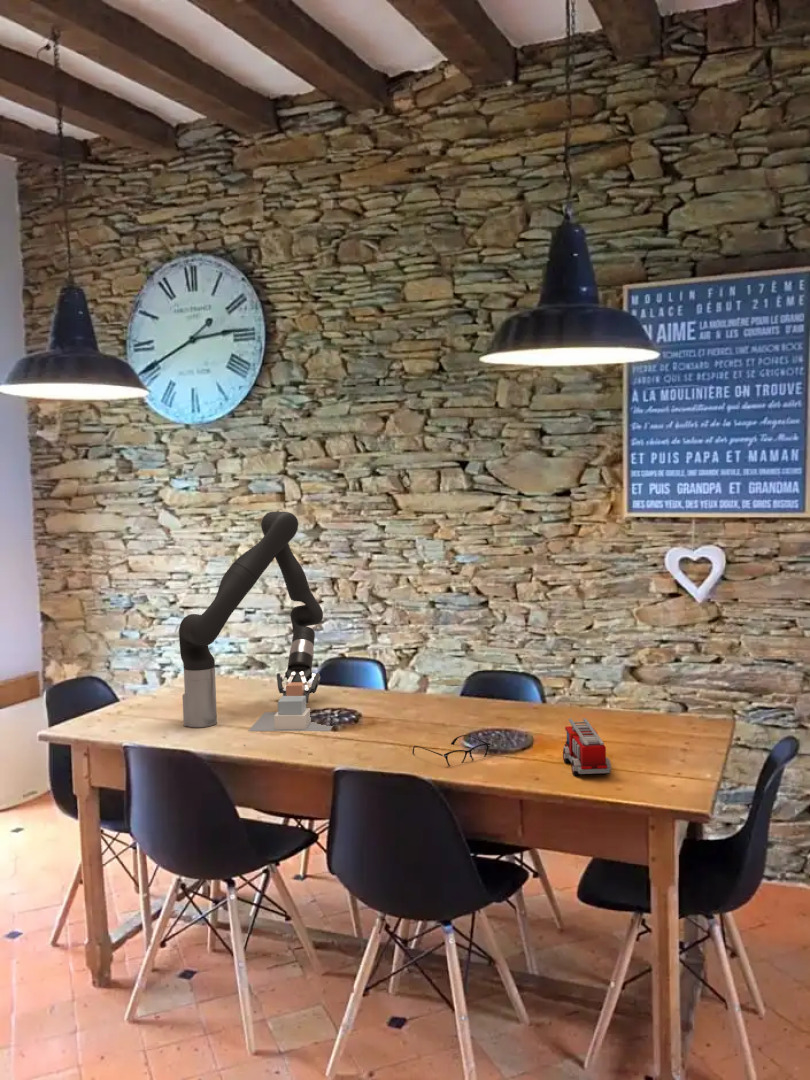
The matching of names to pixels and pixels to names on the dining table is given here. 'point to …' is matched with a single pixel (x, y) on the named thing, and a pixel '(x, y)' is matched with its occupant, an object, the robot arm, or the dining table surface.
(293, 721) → the tower base
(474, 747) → the eyeglasses
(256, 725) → the baseplate
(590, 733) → the toy fire truck
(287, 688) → the terracotta brick
